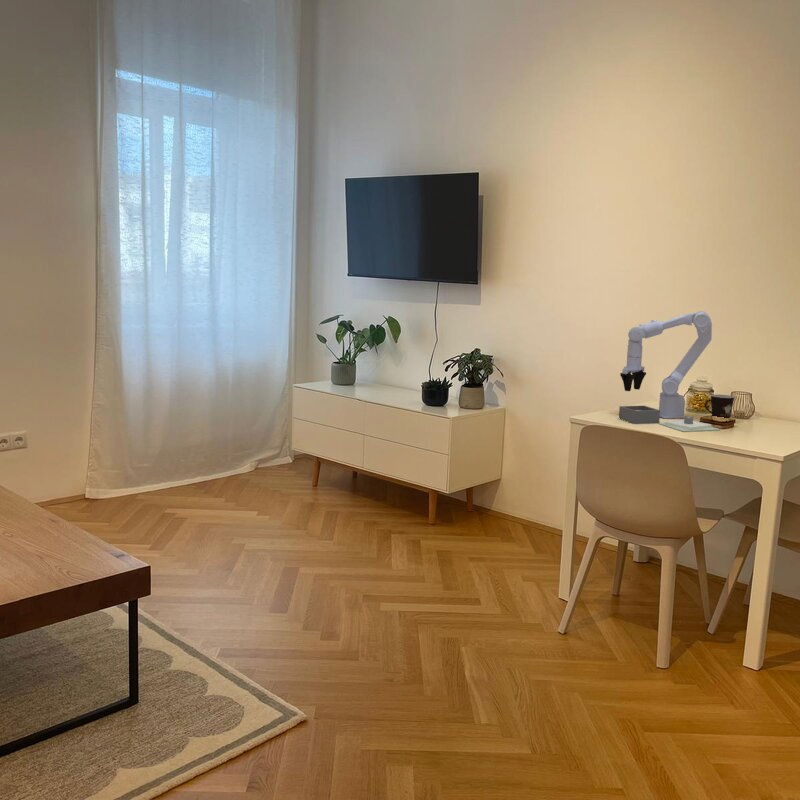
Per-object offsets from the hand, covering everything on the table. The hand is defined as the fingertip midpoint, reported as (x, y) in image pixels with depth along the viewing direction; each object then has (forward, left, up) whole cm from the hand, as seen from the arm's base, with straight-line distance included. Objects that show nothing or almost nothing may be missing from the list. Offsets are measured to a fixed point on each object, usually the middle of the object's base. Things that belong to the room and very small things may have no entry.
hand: (632, 390), depth 339 cm
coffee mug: (-26, +20, -10) cm, 34 cm away
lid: (-7, +29, -10) cm, 31 cm away
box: (+5, +14, -10) cm, 18 cm away
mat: (-7, +29, -10) cm, 31 cm away
